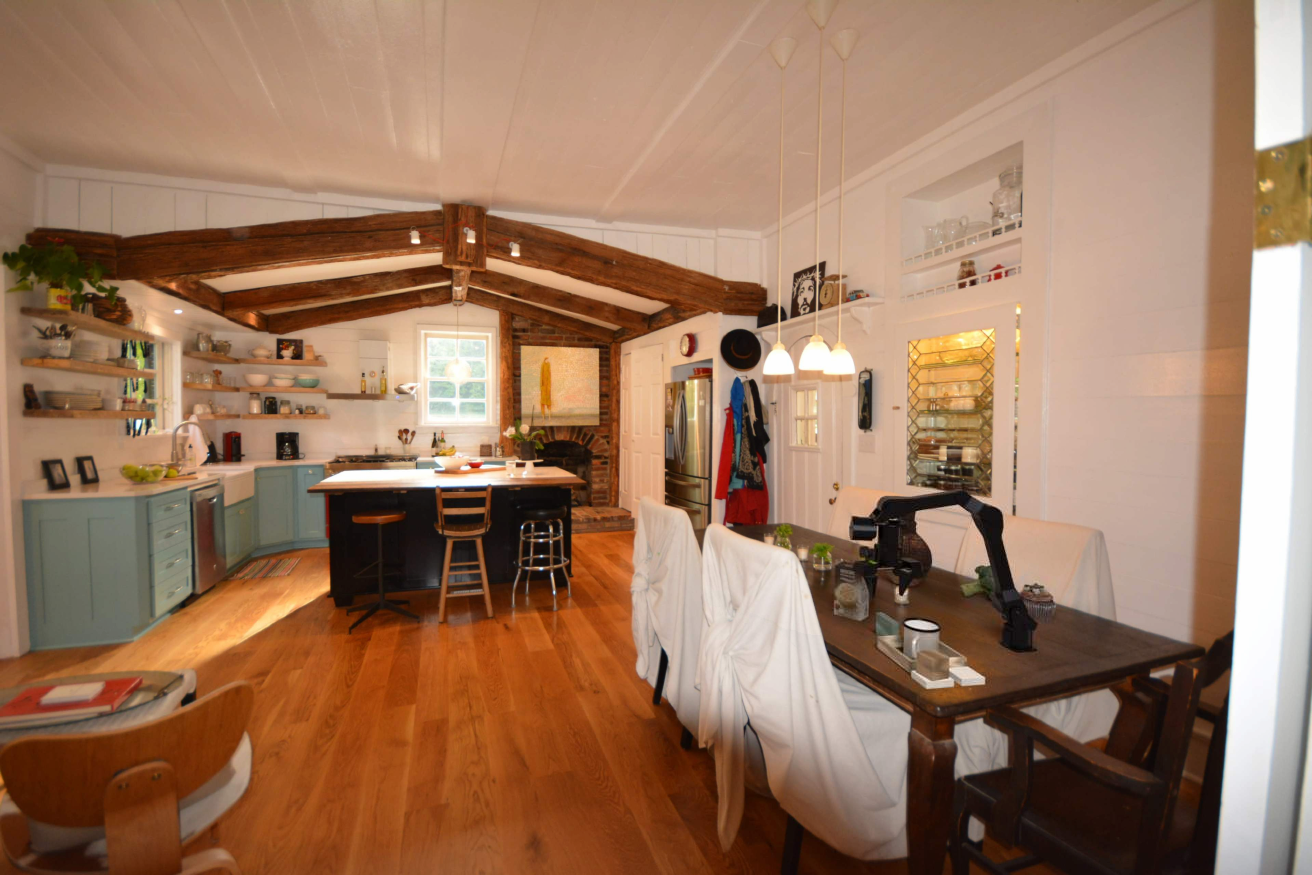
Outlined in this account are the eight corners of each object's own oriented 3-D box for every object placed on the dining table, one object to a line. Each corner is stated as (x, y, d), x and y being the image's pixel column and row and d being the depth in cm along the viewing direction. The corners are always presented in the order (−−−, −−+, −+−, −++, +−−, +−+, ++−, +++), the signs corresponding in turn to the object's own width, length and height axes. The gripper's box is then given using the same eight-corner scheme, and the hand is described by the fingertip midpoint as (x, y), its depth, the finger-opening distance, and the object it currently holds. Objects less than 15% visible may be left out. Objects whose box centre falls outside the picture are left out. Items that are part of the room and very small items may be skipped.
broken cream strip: (967, 672, 142) (967, 666, 142) (984, 684, 137) (985, 677, 136) (911, 677, 140) (911, 670, 140) (926, 688, 134) (926, 682, 134)
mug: (906, 647, 158) (907, 614, 158) (944, 656, 152) (945, 622, 152) (893, 662, 149) (894, 627, 148) (933, 672, 143) (934, 636, 142)
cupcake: (1043, 624, 175) (1044, 591, 174) (1012, 613, 184) (1013, 582, 183) (1063, 619, 179) (1064, 587, 178) (1031, 609, 188) (1032, 578, 187)
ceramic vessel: (920, 595, 202) (922, 510, 201) (871, 585, 214) (872, 504, 212) (939, 582, 217) (941, 502, 216) (892, 573, 229) (893, 498, 228)
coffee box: (832, 614, 183) (833, 564, 183) (841, 609, 188) (842, 560, 187) (860, 621, 177) (861, 569, 176) (869, 616, 182) (870, 565, 181)
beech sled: (909, 632, 168) (909, 610, 167) (966, 669, 144) (967, 644, 143) (860, 635, 165) (861, 613, 165) (910, 673, 141) (911, 648, 141)
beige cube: (932, 669, 141) (933, 649, 141) (949, 678, 136) (949, 657, 136) (916, 672, 139) (916, 651, 139) (932, 681, 135) (932, 660, 134)
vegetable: (960, 582, 209) (1003, 568, 203) (974, 615, 201) (1020, 602, 194) (950, 568, 202) (995, 554, 196) (965, 602, 193) (1012, 587, 187)
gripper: (898, 534, 172) (896, 586, 172) (842, 536, 167) (840, 590, 168) (924, 542, 161) (922, 598, 162) (865, 545, 156) (863, 602, 157)
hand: (886, 596), depth 162 cm, fingers open, 9 cm apart
